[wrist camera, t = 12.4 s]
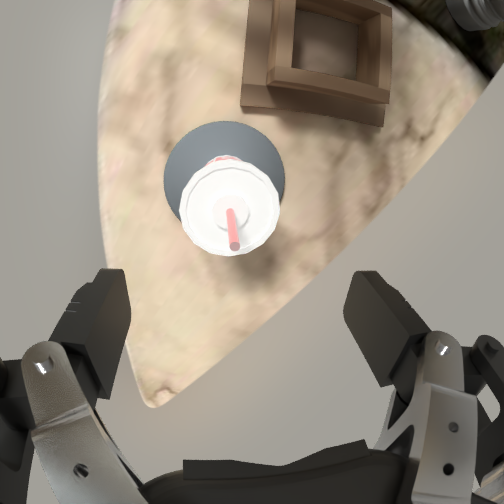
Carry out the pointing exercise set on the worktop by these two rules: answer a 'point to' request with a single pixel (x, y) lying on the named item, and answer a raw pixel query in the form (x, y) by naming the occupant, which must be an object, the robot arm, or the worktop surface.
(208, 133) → the slate coaster
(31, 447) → the robot arm
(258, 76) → the stepped square tray
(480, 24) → the candle holder
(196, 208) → the beverage cup
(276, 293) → the worktop surface
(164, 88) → the worktop surface
